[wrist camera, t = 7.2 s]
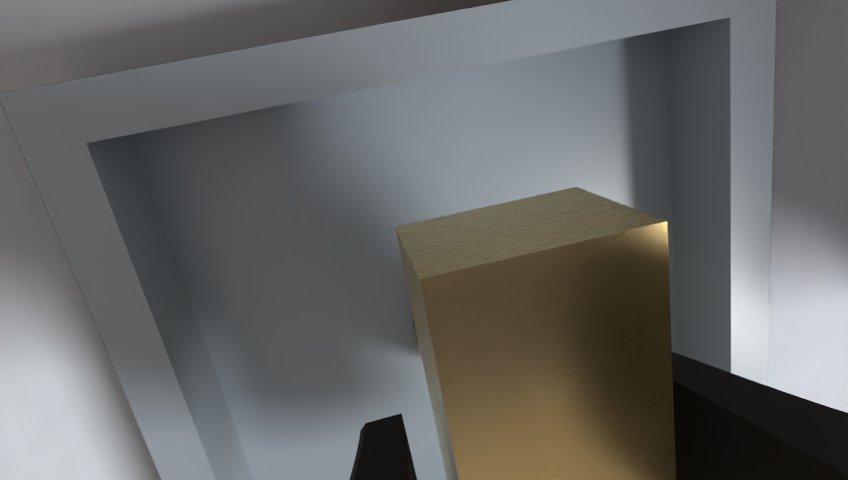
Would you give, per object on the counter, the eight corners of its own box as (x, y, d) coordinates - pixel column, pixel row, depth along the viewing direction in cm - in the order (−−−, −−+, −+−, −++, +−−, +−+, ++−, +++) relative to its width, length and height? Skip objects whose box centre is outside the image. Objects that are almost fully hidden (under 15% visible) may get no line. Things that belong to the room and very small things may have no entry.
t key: (529, 436, 14) (683, 704, 8) (432, 462, 14) (514, 764, 8) (490, 154, 12) (667, 220, 6) (372, 178, 12) (419, 279, 5)
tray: (689, -20, 12) (778, -48, 10) (701, 457, 16) (764, 518, 14) (73, 94, 10) (-3, 94, 8) (262, 588, 15) (248, 683, 12)
